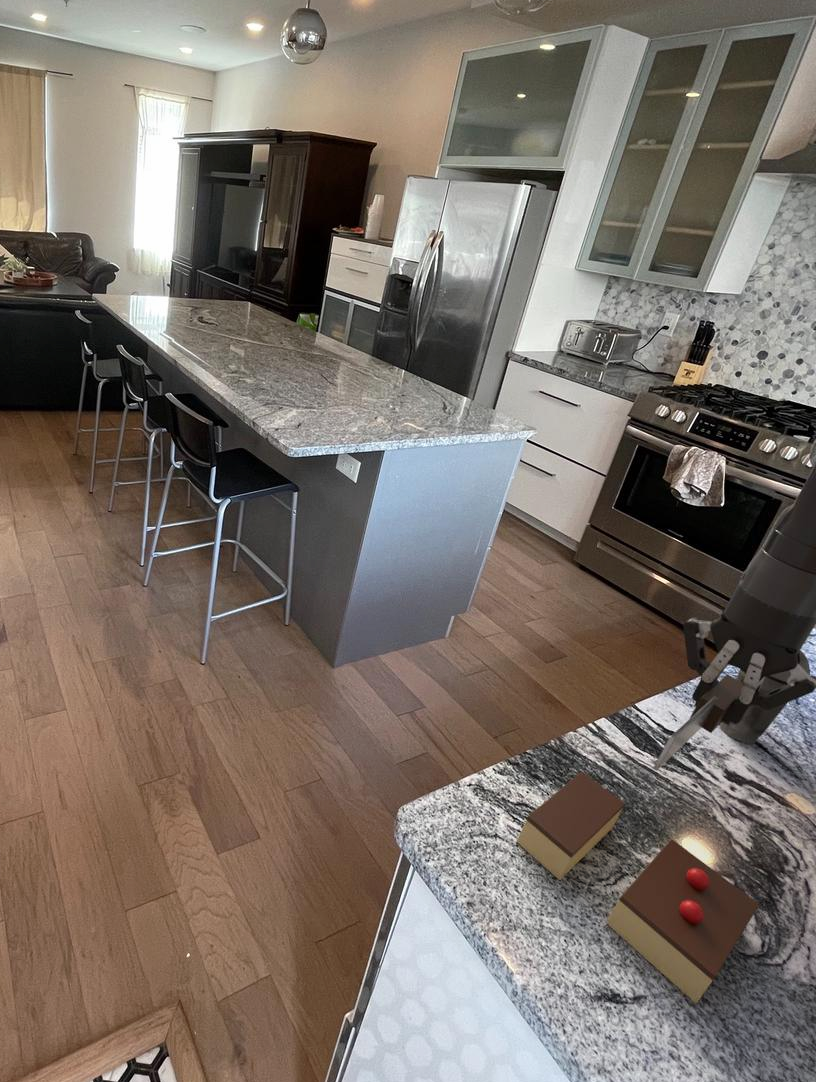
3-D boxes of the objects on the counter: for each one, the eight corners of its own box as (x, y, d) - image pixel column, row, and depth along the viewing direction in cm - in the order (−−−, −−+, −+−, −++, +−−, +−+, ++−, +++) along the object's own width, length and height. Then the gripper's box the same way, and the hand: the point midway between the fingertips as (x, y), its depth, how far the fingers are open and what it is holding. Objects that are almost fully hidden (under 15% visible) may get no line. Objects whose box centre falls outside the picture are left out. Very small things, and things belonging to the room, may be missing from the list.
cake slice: (570, 795, 75) (582, 771, 74) (612, 828, 72) (625, 803, 70) (516, 841, 68) (527, 815, 67) (559, 880, 65) (573, 854, 63)
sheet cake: (656, 863, 68) (677, 828, 66) (741, 930, 62) (766, 894, 60) (605, 922, 61) (627, 885, 59) (695, 1004, 55) (723, 965, 53)
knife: (714, 695, 80) (730, 667, 79) (736, 707, 79) (753, 679, 77) (643, 761, 67) (660, 729, 66) (666, 778, 66) (685, 745, 64)
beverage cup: (779, 757, 87) (854, 639, 79) (723, 744, 88) (792, 627, 80) (749, 720, 94) (815, 608, 86) (697, 708, 94) (759, 596, 87)
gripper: (868, 620, 67) (790, 741, 74) (722, 558, 77) (665, 669, 84) (852, 639, 63) (770, 766, 70) (700, 570, 73) (641, 687, 80)
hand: (713, 712), depth 77 cm, fingers closed on knife, 2 cm apart
